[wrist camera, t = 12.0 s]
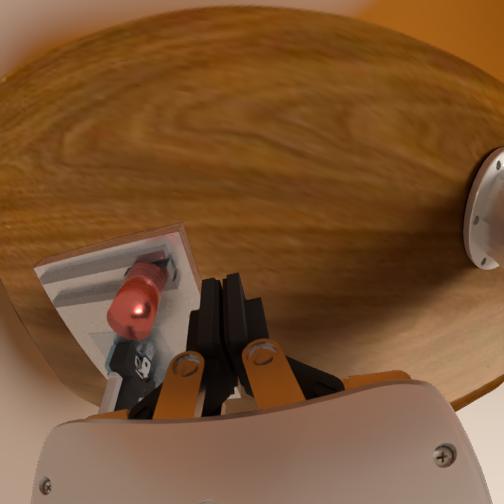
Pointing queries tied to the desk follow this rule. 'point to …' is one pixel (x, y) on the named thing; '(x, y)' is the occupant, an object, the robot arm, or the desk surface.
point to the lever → (139, 299)
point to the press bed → (109, 282)
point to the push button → (126, 378)
